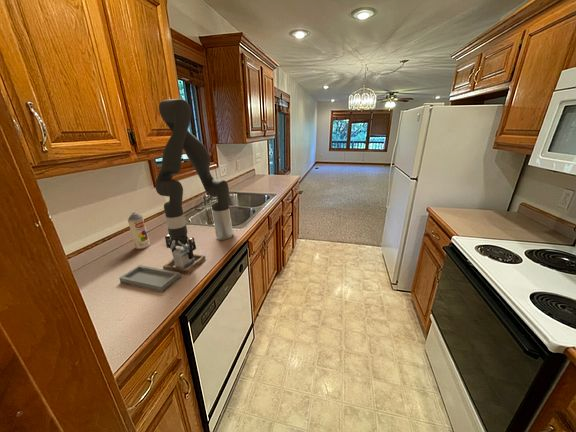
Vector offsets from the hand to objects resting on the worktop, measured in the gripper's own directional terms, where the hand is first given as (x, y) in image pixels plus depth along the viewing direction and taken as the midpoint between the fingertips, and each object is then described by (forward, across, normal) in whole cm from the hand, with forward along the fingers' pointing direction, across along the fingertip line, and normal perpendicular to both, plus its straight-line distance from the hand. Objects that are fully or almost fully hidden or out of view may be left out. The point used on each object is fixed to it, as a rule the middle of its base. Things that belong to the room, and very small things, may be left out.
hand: (183, 257), depth 111 cm
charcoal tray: (+4, +6, +14) cm, 16 cm away
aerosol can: (+4, +35, -9) cm, 36 cm away
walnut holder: (+4, 0, 0) cm, 4 cm away
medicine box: (+4, 0, 0) cm, 4 cm away
